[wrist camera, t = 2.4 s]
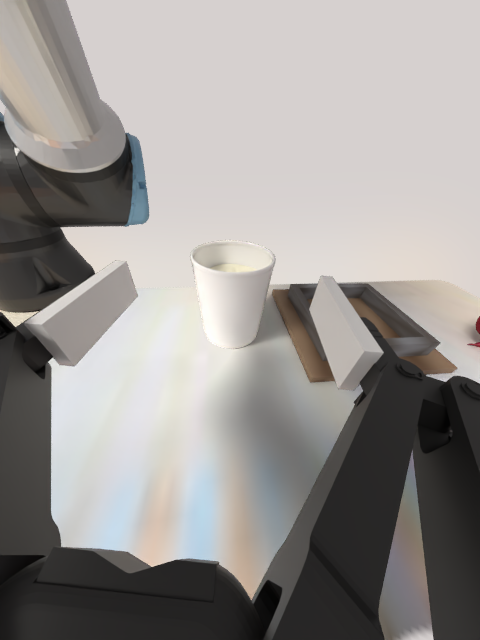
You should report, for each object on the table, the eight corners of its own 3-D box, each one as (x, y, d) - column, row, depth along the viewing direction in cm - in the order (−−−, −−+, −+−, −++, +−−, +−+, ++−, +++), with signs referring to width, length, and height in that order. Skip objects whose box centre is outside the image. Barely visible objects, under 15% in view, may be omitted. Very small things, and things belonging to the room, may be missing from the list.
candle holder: (268, 318, 33) (282, 247, 25) (252, 362, 25) (264, 281, 18) (215, 305, 35) (213, 235, 27) (186, 342, 27) (172, 261, 20)
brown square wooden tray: (310, 382, 23) (319, 364, 21) (272, 293, 39) (275, 278, 36) (451, 372, 26) (473, 355, 24) (363, 292, 41) (371, 277, 39)
